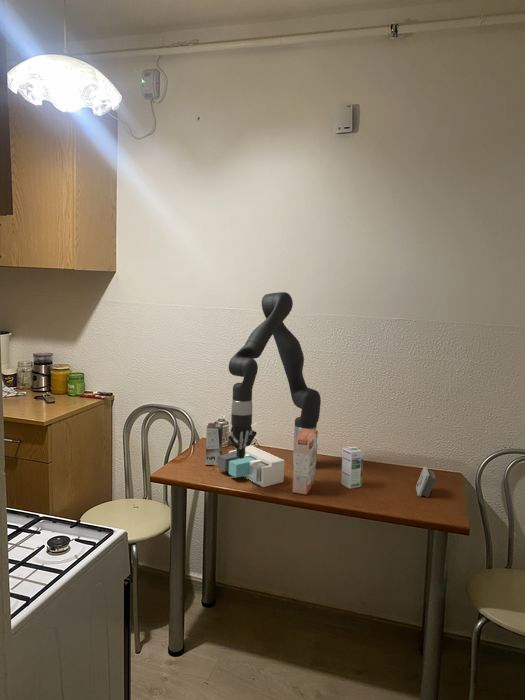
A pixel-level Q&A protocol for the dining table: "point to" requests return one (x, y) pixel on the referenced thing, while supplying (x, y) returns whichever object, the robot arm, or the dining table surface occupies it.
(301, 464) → the cracker box
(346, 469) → the syrup box
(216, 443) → the coffee box
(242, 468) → the teal plug
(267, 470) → the socket housing
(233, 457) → the charcoal plug
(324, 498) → the dining table surface
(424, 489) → the electrical switch
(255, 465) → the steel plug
